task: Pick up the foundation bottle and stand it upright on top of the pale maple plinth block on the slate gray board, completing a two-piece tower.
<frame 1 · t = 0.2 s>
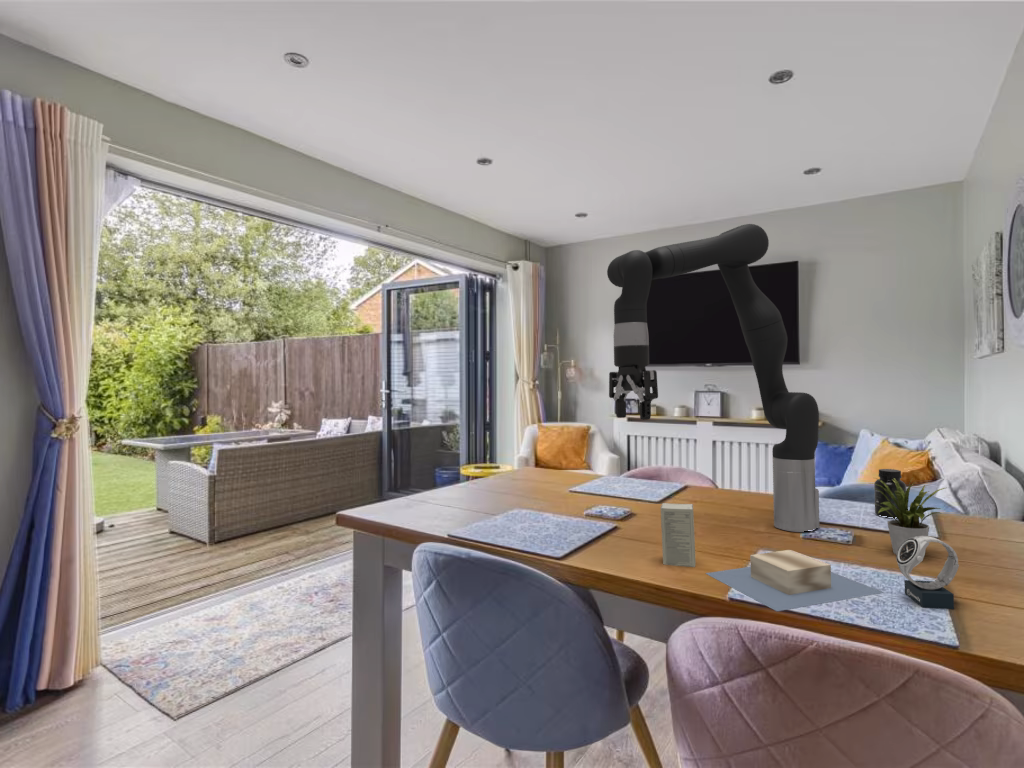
hand: (632, 418, 120), 29 cm above the table, fingers open, 8 cm apart
house plant: (900, 553, 114), on the table
skincare box: (678, 567, 109), on the table
watch: (928, 607, 88), on the table
slate gray board: (789, 586, 98), on the table
supplement bottle: (890, 516, 144), on the table
plinth block: (789, 582, 98), point 1 cm above the table, touching slate gray board
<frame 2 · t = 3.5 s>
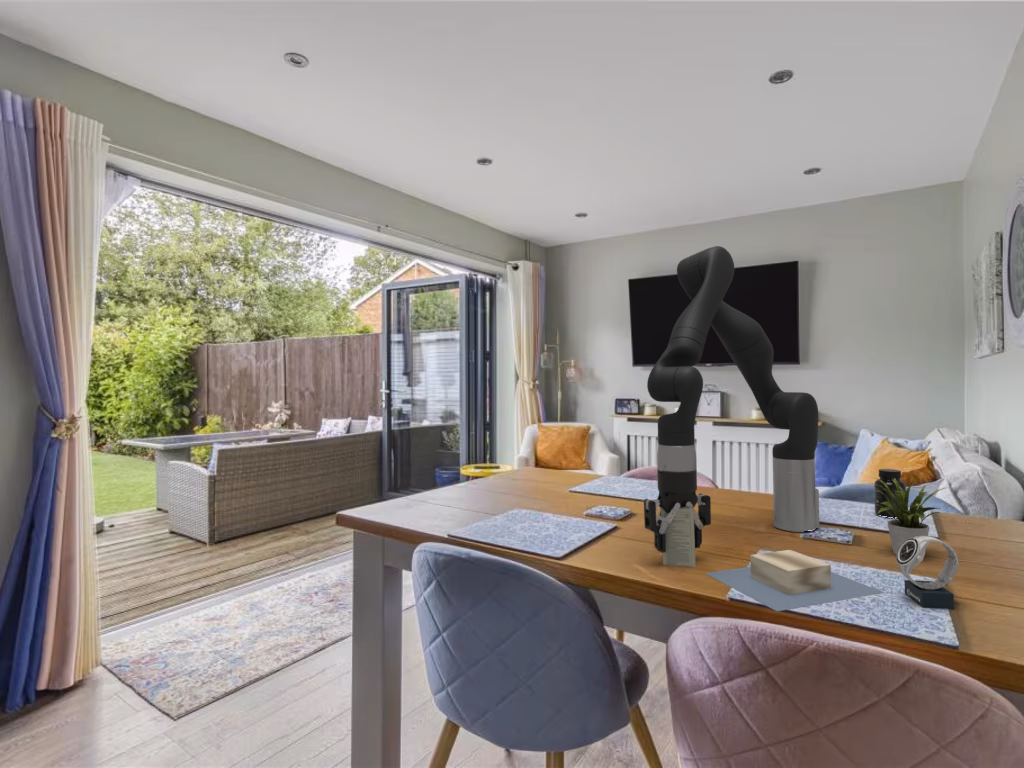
hand: (678, 549, 109), 3 cm above the table, fingers closed on skincare box, 7 cm apart
skincare box: (678, 567, 109), on the table, touching gripper
everything else where it was.
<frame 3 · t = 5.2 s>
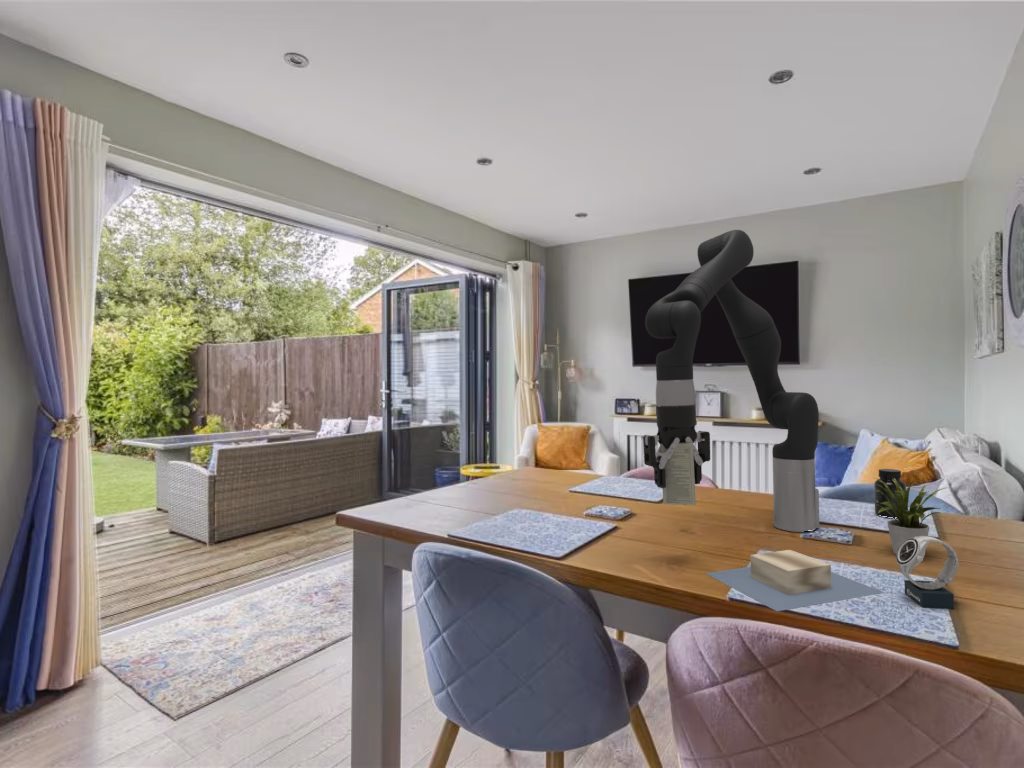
hand: (678, 485, 109), 16 cm above the table, fingers closed on skincare box, 7 cm apart
skincare box: (679, 503, 109), point 12 cm above the table, touching gripper
everything else where it was.
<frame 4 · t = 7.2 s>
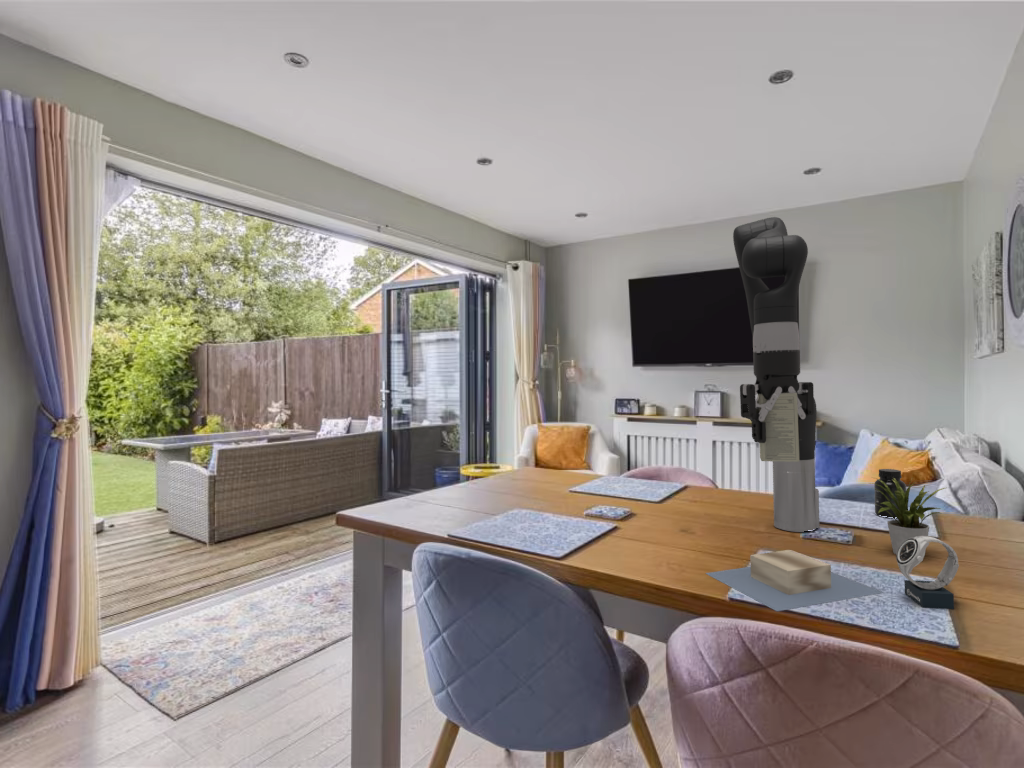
hand: (778, 441, 98), 26 cm above the table, fingers closed on skincare box, 7 cm apart
skincare box: (778, 461, 98), point 22 cm above the table, touching gripper
everything else where it was.
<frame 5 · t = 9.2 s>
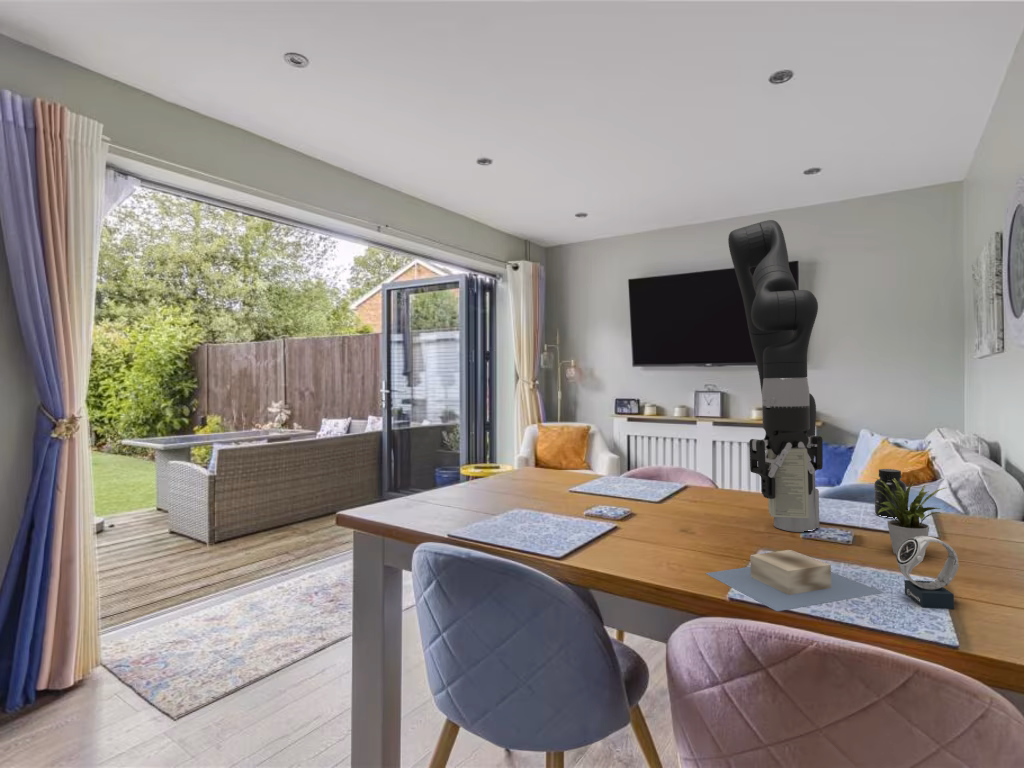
hand: (787, 496, 98), 16 cm above the table, fingers closed on skincare box, 7 cm apart
skincare box: (787, 516, 98), point 13 cm above the table, touching gripper
everything else where it was.
when the fingers open (10 cm above the table, at t = 11.1 s): skincare box drops 2 cm, resting on plinth block.
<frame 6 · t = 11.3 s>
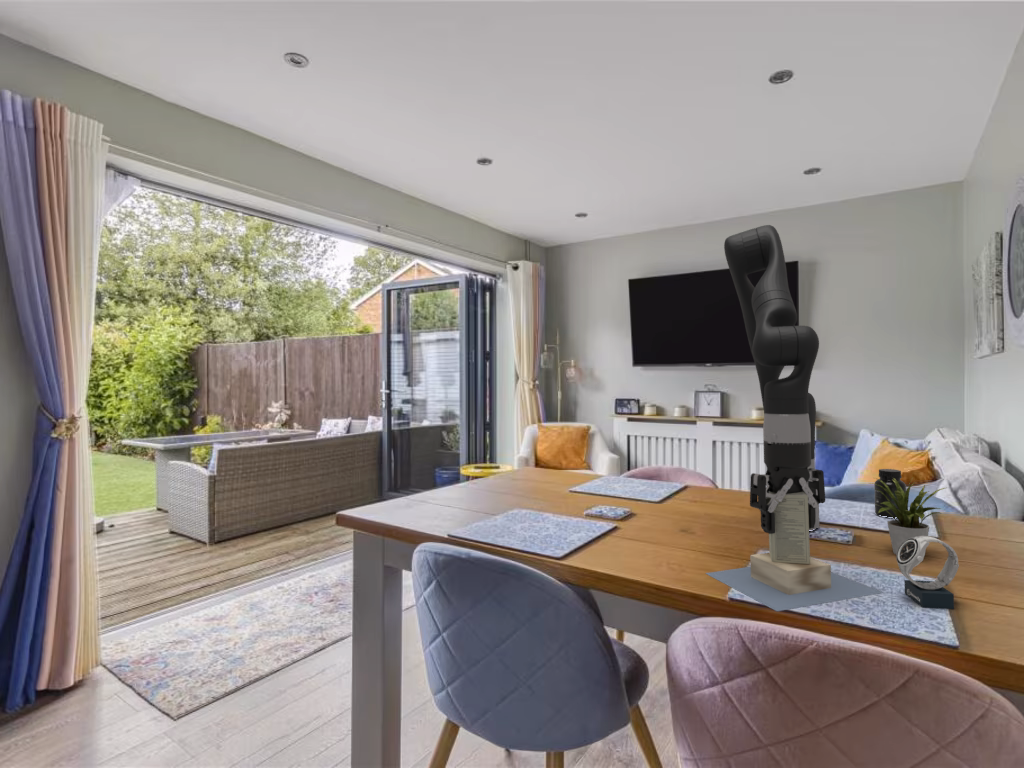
hand: (788, 530, 97), 10 cm above the table, fingers open, 8 cm apart
skincare box: (788, 560, 98), point 5 cm above the table, touching plinth block
plinth block: (789, 582, 98), point 1 cm above the table, touching slate gray board, skincare box
everything else where it was.
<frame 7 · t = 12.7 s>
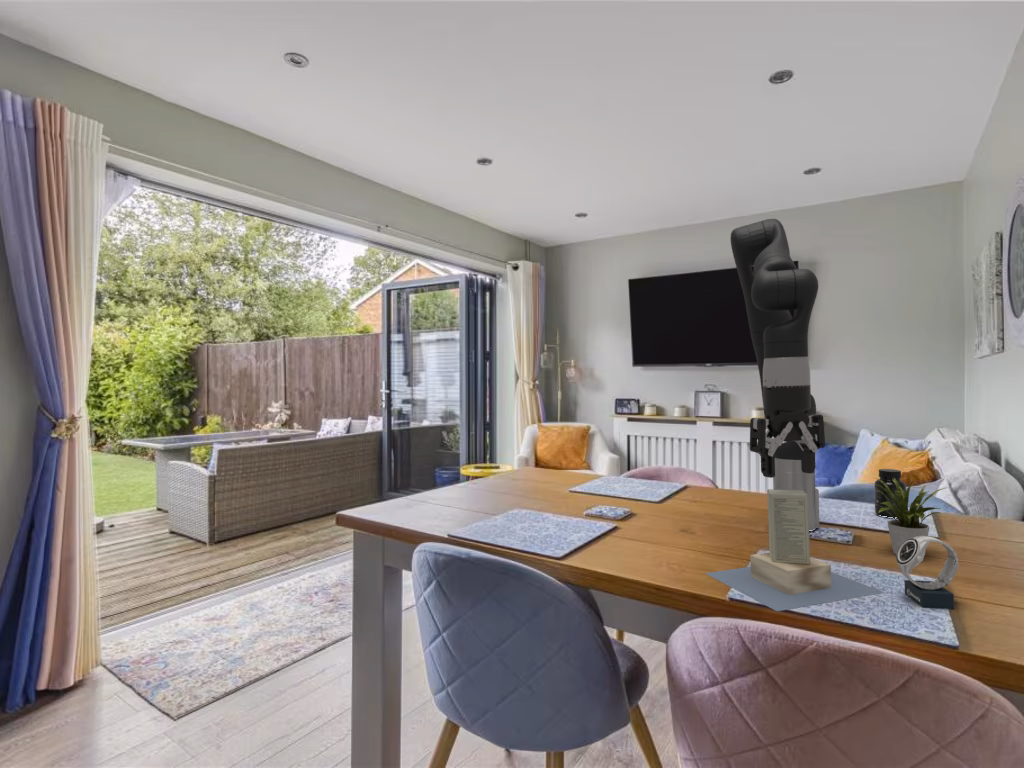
hand: (788, 474, 97), 20 cm above the table, fingers open, 8 cm apart
nothing on the table moved.
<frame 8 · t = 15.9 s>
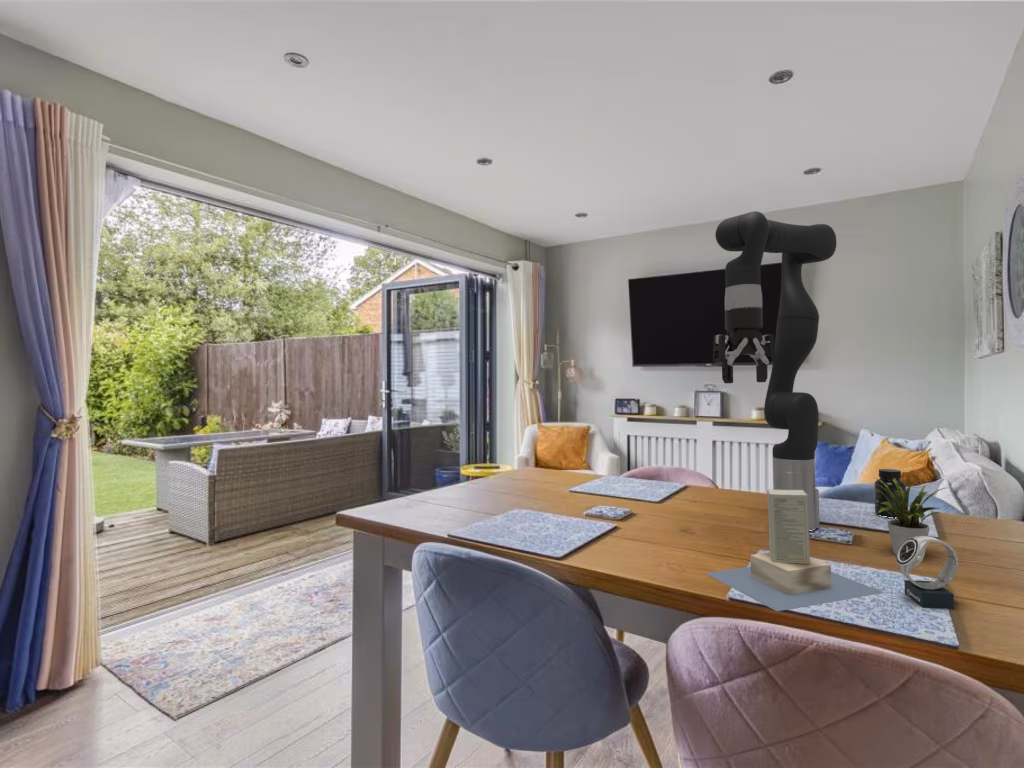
hand: (745, 382, 119), 36 cm above the table, fingers open, 8 cm apart
nothing on the table moved.
at the end: skincare box 0.1 cm off-centre on the plinth block, point 3.8 cm above the plinth block's base; skincare box tilted 0°; plinth block 0.0 cm from the slate gray board (horizontally) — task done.
